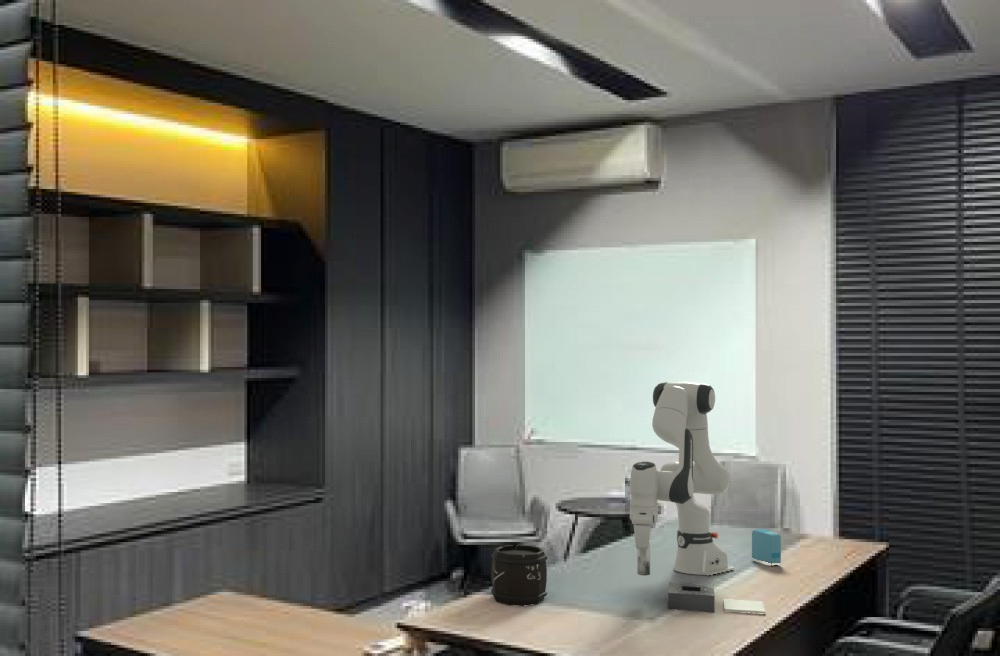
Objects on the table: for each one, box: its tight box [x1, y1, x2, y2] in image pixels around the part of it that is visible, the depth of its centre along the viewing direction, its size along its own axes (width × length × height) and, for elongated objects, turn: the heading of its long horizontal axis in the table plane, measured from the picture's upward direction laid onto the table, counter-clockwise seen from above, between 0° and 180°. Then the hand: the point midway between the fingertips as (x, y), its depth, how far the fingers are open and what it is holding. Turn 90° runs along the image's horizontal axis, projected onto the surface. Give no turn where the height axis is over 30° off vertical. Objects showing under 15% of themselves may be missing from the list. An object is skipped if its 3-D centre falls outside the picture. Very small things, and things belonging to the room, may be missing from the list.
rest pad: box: [723, 598, 766, 614], centre depth 288 cm, size 12×12×1 cm
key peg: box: [636, 541, 651, 576], centre depth 295 cm, size 4×4×10 cm
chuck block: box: [667, 581, 716, 613], centre depth 291 cm, size 14×14×5 cm
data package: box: [751, 528, 782, 564], centre depth 352 cm, size 12×4×12 cm, turn 20°
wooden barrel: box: [490, 544, 548, 607], centre depth 295 cm, size 18×18×16 cm
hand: (643, 557), depth 295 cm, fingers closed on key peg, 4 cm apart
